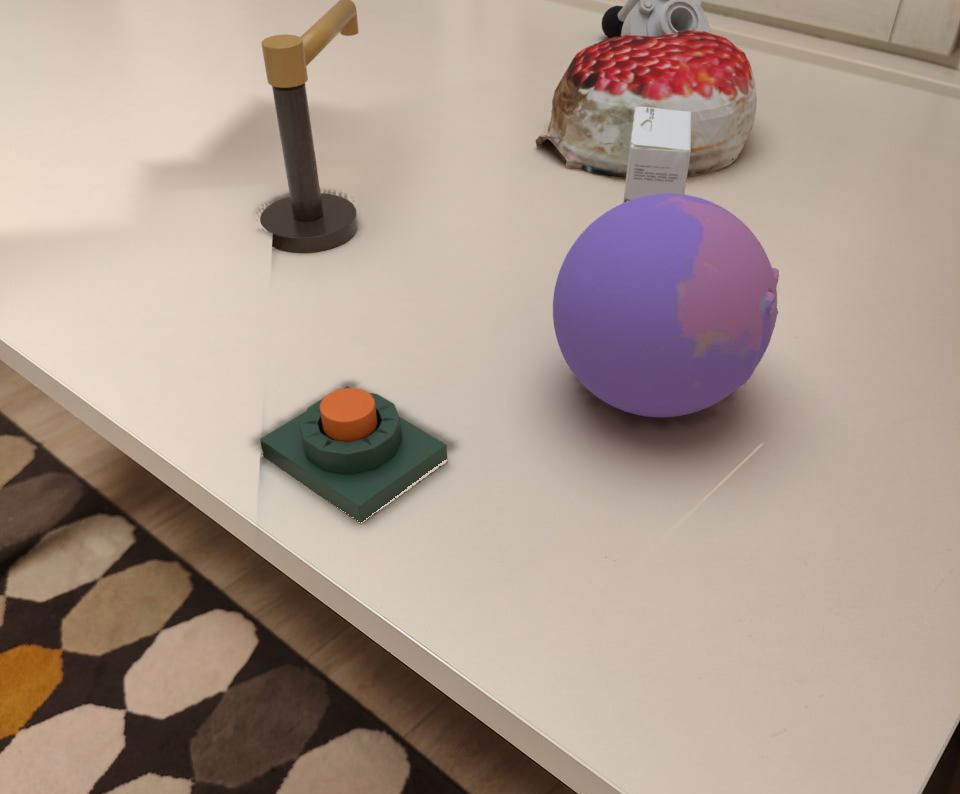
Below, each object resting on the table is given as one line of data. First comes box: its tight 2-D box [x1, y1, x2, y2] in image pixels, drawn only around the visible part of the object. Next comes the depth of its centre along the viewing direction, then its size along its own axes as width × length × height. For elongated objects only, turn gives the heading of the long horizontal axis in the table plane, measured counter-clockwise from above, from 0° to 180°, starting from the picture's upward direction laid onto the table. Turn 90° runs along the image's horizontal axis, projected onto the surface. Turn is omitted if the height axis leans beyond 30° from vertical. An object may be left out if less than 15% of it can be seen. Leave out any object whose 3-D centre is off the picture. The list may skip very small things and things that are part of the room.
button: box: [320, 387, 377, 442], centre depth 62 cm, size 4×4×2 cm
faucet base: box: [259, 82, 359, 254], centre depth 85 cm, size 9×9×14 cm
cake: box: [535, 30, 758, 179], centre depth 101 cm, size 23×24×10 cm
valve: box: [601, 0, 711, 39], centre depth 119 cm, size 10×20×15 cm
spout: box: [261, 0, 359, 88], centre depth 85 cm, size 19×3×4 cm, turn 168°
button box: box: [259, 385, 448, 524], centre depth 64 cm, size 10×8×4 cm
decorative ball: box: [552, 194, 780, 418], centre depth 65 cm, size 15×15×15 cm
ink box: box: [623, 106, 691, 203], centre depth 81 cm, size 8×5×12 cm, turn 170°
